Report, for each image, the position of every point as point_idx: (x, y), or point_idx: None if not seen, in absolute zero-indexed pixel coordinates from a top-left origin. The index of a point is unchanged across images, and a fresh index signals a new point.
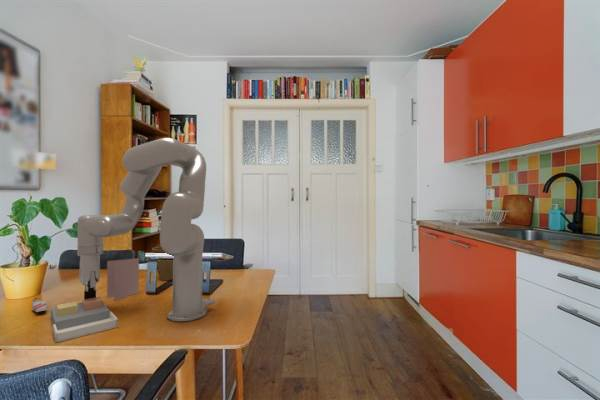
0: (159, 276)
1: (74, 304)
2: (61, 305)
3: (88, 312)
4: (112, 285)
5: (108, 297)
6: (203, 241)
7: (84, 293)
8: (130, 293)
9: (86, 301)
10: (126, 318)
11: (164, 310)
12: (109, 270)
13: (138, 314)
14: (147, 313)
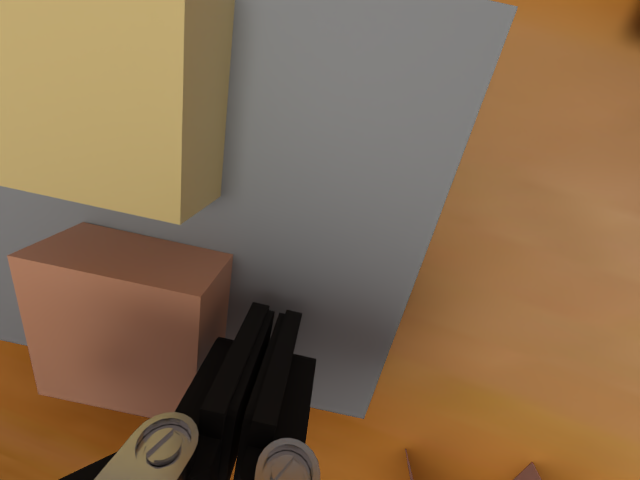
0: None
1: (35, 164)
2: (95, 9)
3: (11, 225)
4: None
5: (526, 468)
6: None
7: (259, 389)
8: None
9: (80, 295)
10: (3, 347)
11: (21, 474)
12: None
13: (35, 402)
14: (23, 426)
